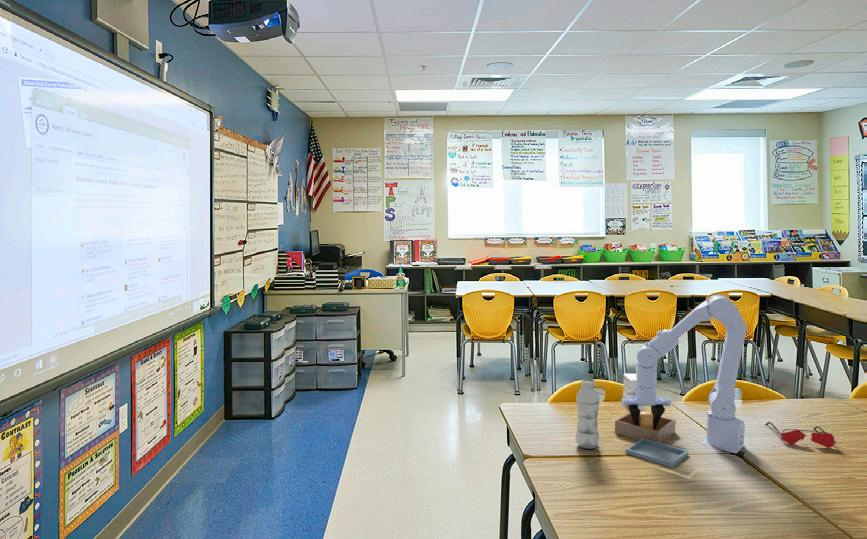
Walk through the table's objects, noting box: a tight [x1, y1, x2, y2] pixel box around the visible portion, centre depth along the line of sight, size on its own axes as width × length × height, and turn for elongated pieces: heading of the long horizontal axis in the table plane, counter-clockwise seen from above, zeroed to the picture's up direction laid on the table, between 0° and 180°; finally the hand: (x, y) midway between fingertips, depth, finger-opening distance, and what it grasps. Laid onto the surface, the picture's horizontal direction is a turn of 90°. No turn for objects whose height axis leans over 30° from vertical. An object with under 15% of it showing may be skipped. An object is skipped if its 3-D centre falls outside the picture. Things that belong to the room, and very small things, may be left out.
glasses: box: [764, 421, 837, 448], centre depth 163 cm, size 14×16×5 cm
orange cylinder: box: [639, 410, 653, 430], centre depth 164 cm, size 4×4×6 cm
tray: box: [625, 438, 689, 469], centre depth 149 cm, size 13×11×2 cm
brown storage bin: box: [614, 412, 677, 443], centre depth 164 cm, size 13×13×4 cm
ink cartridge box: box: [622, 365, 645, 412], centre depth 187 cm, size 9×5×15 cm, turn 179°
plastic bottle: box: [575, 377, 600, 450], centre depth 155 cm, size 6×7×20 cm
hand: (645, 428), depth 164 cm, fingers open, 5 cm apart
